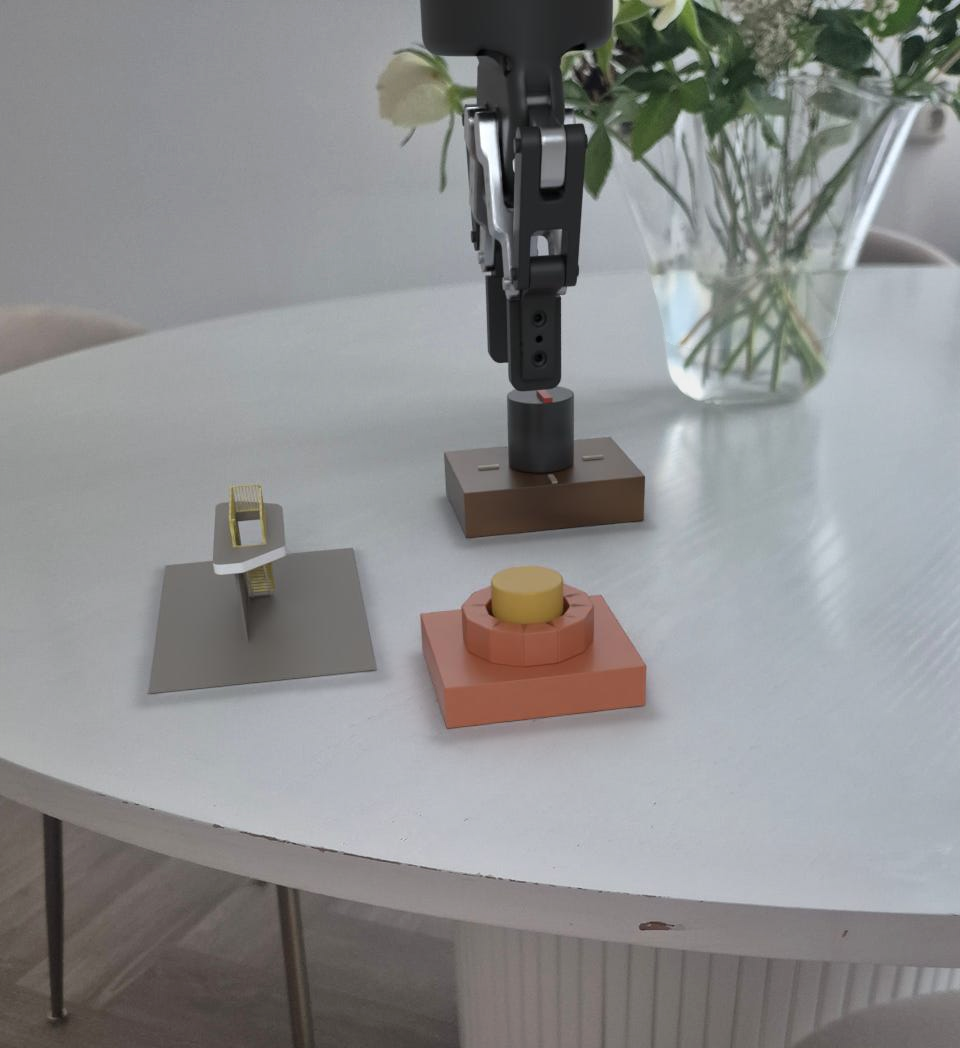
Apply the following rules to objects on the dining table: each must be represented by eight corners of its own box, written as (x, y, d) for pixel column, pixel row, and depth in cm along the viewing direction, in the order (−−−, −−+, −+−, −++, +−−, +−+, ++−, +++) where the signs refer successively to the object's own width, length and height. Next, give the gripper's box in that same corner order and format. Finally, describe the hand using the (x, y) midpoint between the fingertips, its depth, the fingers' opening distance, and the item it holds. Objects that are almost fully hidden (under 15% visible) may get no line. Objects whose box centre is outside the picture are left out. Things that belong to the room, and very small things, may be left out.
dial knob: (502, 456, 86) (500, 383, 84) (564, 449, 87) (564, 378, 84) (516, 476, 83) (515, 401, 80) (581, 469, 84) (581, 394, 81)
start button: (554, 594, 65) (554, 561, 64) (570, 622, 62) (570, 589, 61) (486, 601, 65) (485, 569, 64) (498, 630, 62) (497, 596, 61)
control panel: (609, 478, 91) (610, 434, 89) (643, 520, 84) (645, 473, 82) (446, 493, 90) (443, 449, 88) (466, 538, 82) (463, 490, 81)
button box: (600, 631, 70) (602, 562, 68) (645, 705, 63) (648, 631, 60) (422, 650, 69) (417, 581, 66) (446, 728, 61) (442, 654, 59)
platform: (352, 547, 82) (342, 446, 78) (376, 669, 67) (365, 551, 63) (165, 565, 80) (146, 463, 77) (148, 693, 66) (123, 574, 62)
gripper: (666, -115, 42) (646, 409, 52) (569, -92, 54) (568, 332, 63) (443, -106, 41) (466, 425, 51) (394, -85, 53) (420, 344, 62)
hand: (523, 371), depth 57 cm, fingers open, 4 cm apart
